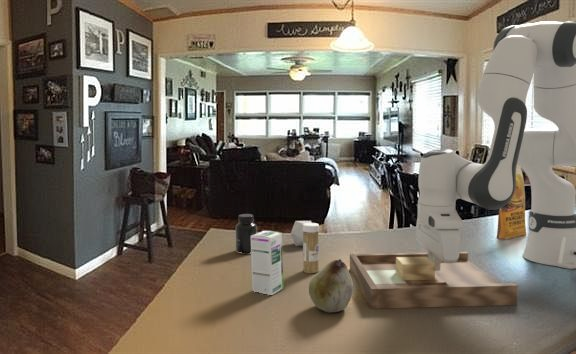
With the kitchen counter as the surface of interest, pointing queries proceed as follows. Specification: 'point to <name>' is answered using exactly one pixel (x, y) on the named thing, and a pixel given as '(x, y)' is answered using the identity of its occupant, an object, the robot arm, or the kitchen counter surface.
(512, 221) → the pancake mix bag
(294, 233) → the die
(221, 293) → the kitchen counter surface
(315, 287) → the fruit
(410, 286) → the box
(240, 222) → the supplement bottle
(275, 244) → the syrup box
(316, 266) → the sprinkles bottle
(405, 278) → the maple block
